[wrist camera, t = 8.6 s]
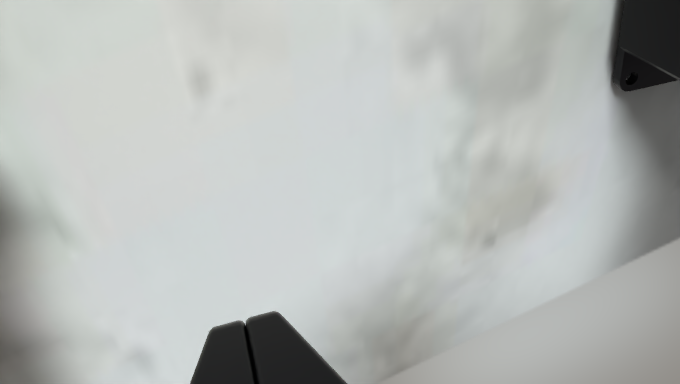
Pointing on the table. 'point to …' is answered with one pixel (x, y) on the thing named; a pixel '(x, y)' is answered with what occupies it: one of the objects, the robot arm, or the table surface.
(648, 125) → the table surface
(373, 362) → the table surface
